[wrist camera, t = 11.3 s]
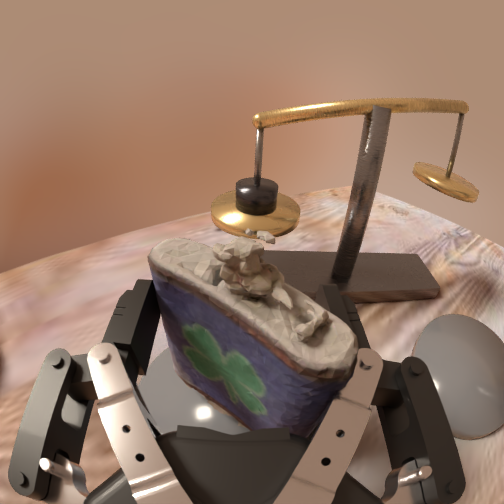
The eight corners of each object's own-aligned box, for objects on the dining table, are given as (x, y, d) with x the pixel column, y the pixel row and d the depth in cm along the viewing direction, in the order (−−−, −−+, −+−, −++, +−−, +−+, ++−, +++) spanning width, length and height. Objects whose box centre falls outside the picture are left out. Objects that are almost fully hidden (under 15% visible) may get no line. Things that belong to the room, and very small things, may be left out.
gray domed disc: (478, 316, 22) (483, 308, 21) (524, 409, 12) (532, 402, 11) (391, 329, 22) (396, 320, 21) (435, 463, 11) (445, 458, 10)
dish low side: (317, 335, 21) (321, 326, 21) (345, 492, 11) (352, 491, 10) (156, 332, 21) (153, 322, 20) (127, 489, 10) (120, 487, 9)
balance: (418, 261, 30) (464, 105, 18) (443, 300, 24) (511, 123, 13) (217, 258, 29) (216, 53, 17) (211, 307, 23) (204, 43, 12)
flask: (166, 368, 16) (129, 209, 10) (199, 344, 18) (187, 188, 12) (287, 463, 11) (374, 349, 5) (317, 425, 13) (404, 281, 7)
